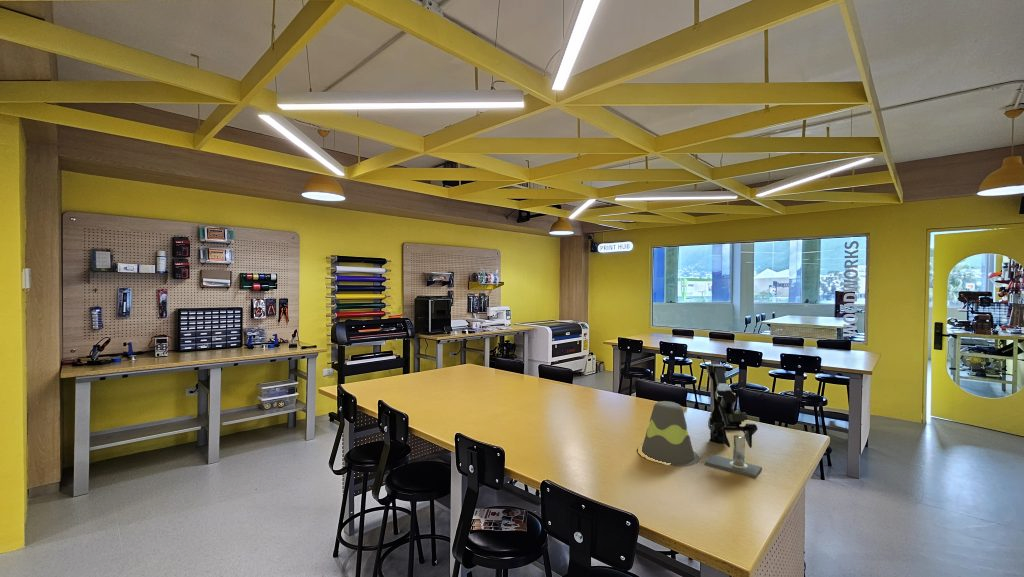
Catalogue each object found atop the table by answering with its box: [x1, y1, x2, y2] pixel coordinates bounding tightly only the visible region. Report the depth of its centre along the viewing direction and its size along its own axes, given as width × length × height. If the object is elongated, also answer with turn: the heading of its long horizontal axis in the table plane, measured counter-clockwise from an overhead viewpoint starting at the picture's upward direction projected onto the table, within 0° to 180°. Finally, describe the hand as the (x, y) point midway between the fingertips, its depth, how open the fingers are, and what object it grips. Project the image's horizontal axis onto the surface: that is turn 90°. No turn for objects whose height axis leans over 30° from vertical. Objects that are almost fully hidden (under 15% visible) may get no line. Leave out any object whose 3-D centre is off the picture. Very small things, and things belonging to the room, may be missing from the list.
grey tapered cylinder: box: [642, 400, 701, 467], centre depth 200 cm, size 28×28×24 cm
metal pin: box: [732, 434, 746, 467], centre depth 185 cm, size 4×4×12 cm
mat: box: [704, 454, 763, 479], centre depth 185 cm, size 20×11×1 cm, turn 48°
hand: (740, 447), depth 183 cm, fingers open, 9 cm apart
